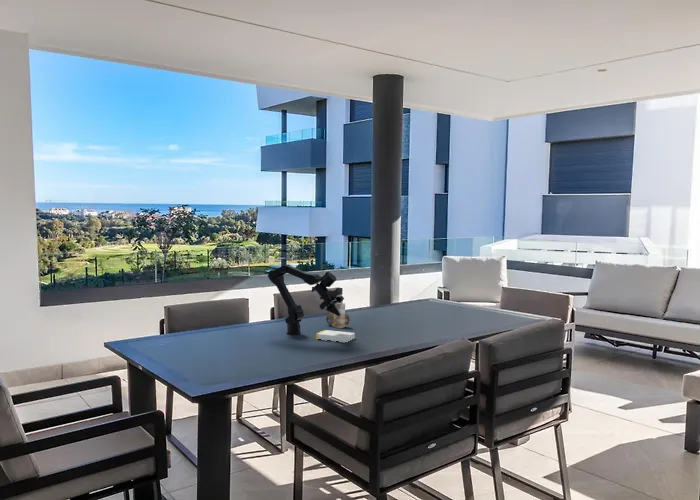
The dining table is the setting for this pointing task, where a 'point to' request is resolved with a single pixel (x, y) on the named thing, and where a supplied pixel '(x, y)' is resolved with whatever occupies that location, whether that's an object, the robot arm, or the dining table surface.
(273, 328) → the dining table surface
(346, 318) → the tin
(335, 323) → the beige tall block
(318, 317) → the dining table surface
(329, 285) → the robot arm
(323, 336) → the dock
